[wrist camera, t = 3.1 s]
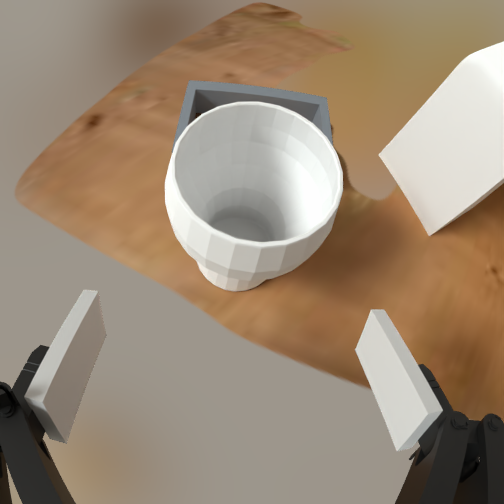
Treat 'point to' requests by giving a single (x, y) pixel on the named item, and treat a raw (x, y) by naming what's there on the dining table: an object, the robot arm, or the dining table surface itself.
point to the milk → (453, 142)
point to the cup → (252, 192)
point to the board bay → (216, 94)
